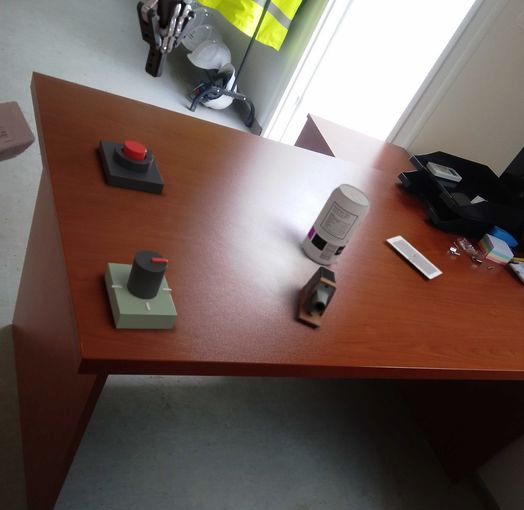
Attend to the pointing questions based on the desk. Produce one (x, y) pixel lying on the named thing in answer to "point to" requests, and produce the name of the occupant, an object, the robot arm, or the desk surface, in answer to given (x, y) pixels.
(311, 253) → the supplement can
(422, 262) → the white grey flat block
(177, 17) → the robot arm
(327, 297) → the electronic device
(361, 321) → the desk surface
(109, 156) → the button base
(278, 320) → the desk surface
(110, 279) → the dial panel
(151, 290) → the dial
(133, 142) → the button
